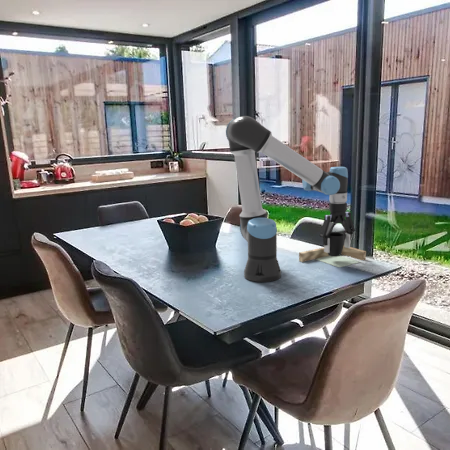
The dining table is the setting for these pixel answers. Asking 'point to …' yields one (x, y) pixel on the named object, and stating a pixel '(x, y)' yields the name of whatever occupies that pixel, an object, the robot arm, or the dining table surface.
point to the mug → (336, 243)
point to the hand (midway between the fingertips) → (337, 249)
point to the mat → (337, 261)
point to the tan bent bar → (320, 253)
